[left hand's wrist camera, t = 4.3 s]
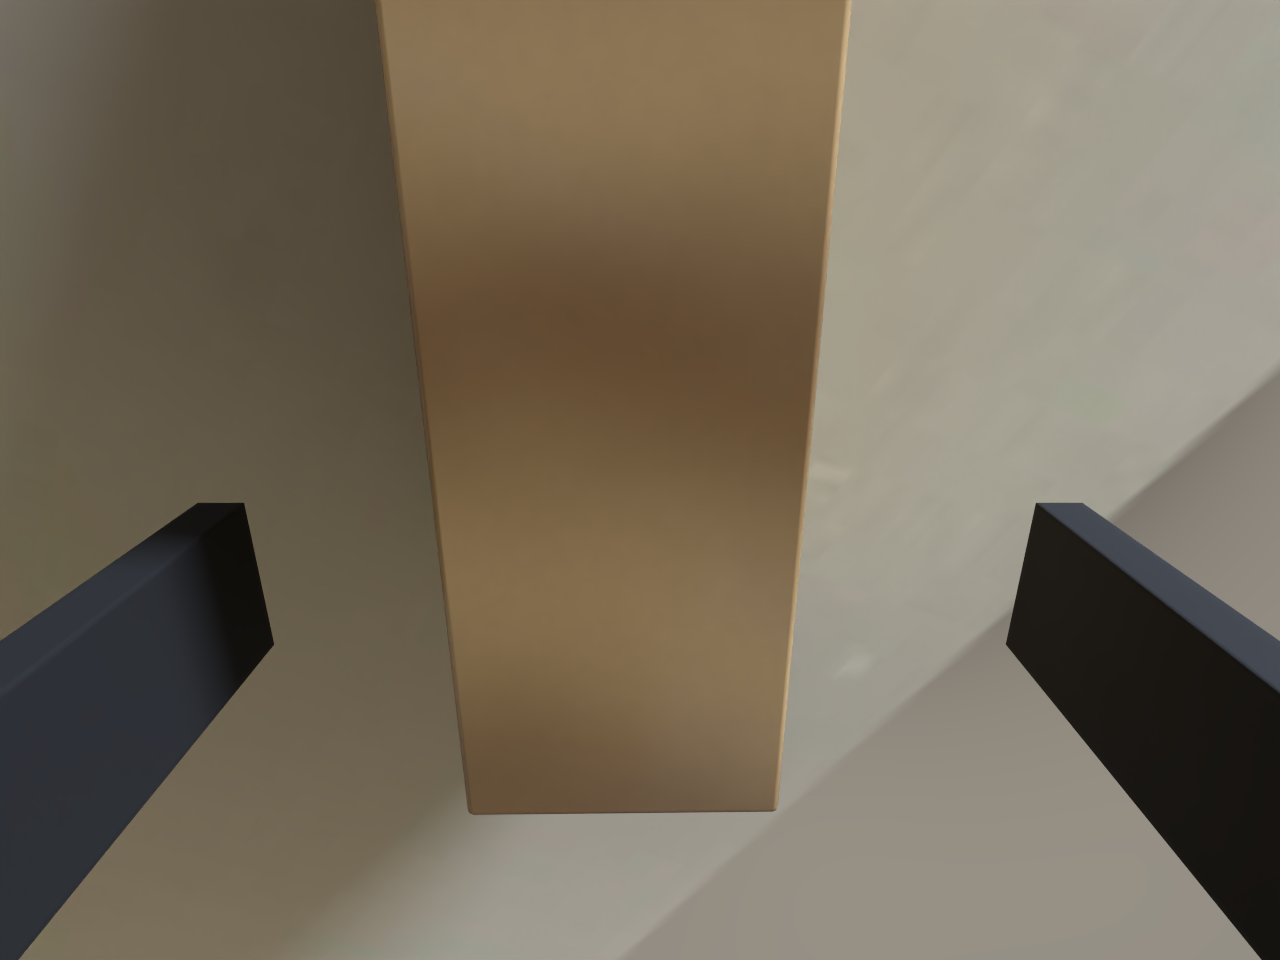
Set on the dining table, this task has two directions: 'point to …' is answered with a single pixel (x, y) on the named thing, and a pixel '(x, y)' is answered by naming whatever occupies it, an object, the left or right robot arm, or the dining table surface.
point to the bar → (617, 377)
